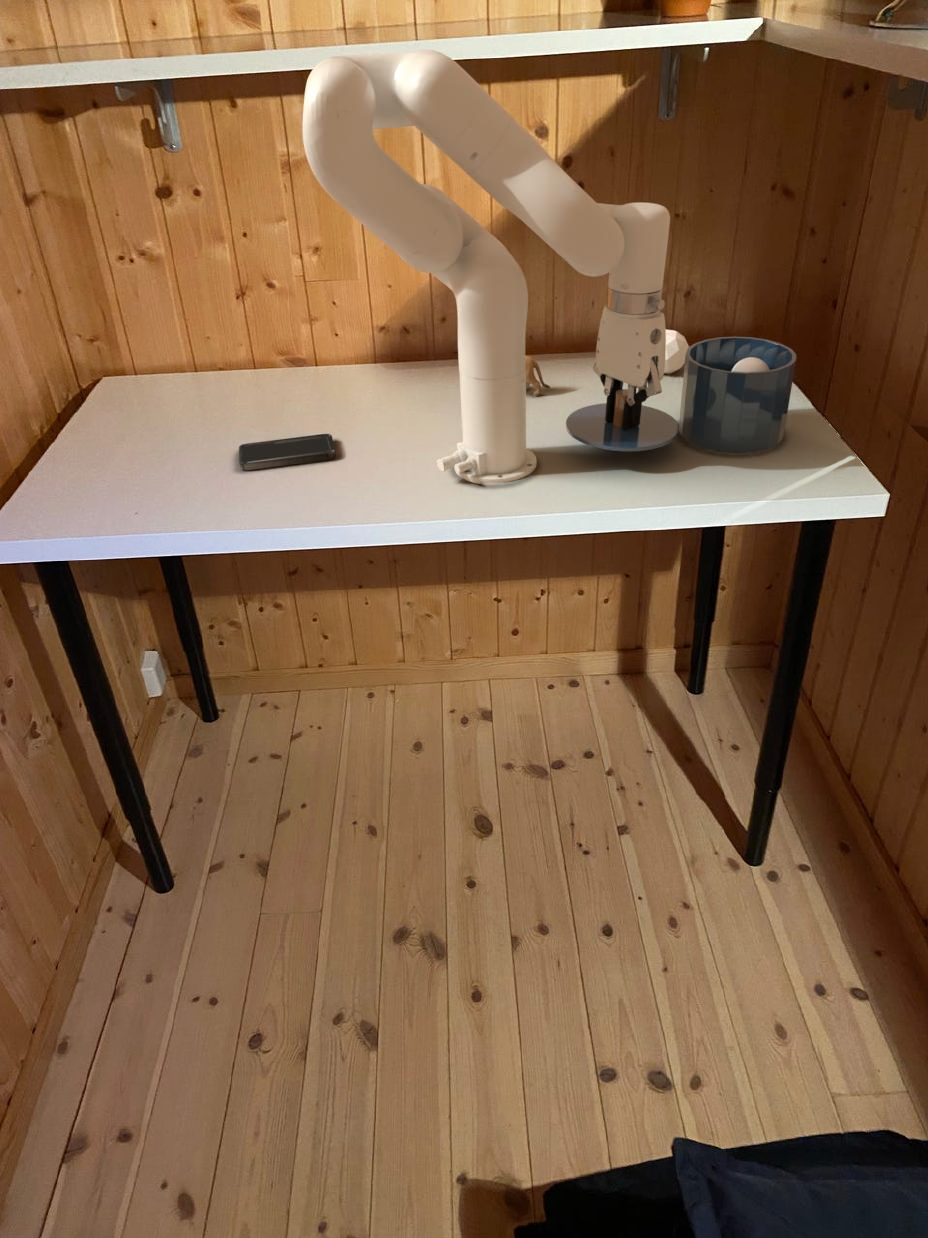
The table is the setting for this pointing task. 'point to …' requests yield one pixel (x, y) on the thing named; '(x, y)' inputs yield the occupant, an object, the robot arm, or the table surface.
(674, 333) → the geometric ball
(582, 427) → the lid
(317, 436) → the phone
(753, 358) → the lightbulb
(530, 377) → the lion figurine
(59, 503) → the table surface
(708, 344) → the dark blue cylindrical pot
